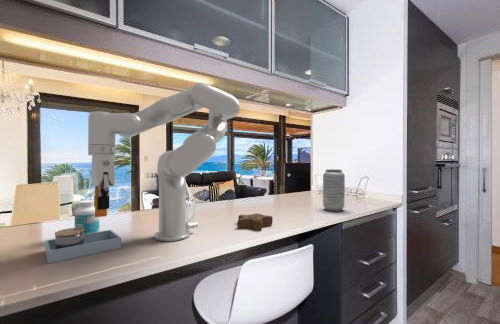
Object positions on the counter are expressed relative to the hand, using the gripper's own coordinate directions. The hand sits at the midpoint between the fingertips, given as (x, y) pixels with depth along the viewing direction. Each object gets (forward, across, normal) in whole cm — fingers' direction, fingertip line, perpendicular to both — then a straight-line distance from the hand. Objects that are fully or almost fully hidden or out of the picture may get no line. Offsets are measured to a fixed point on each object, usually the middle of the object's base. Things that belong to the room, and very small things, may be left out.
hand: (101, 207), depth 81 cm
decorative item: (+13, -13, -54) cm, 57 cm away
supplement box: (+3, 0, 0) cm, 3 cm away
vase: (+12, -18, -112) cm, 114 cm away
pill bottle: (+13, +13, +2) cm, 19 cm away
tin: (+12, 0, +8) cm, 15 cm away
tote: (+13, 0, +5) cm, 14 cm away
